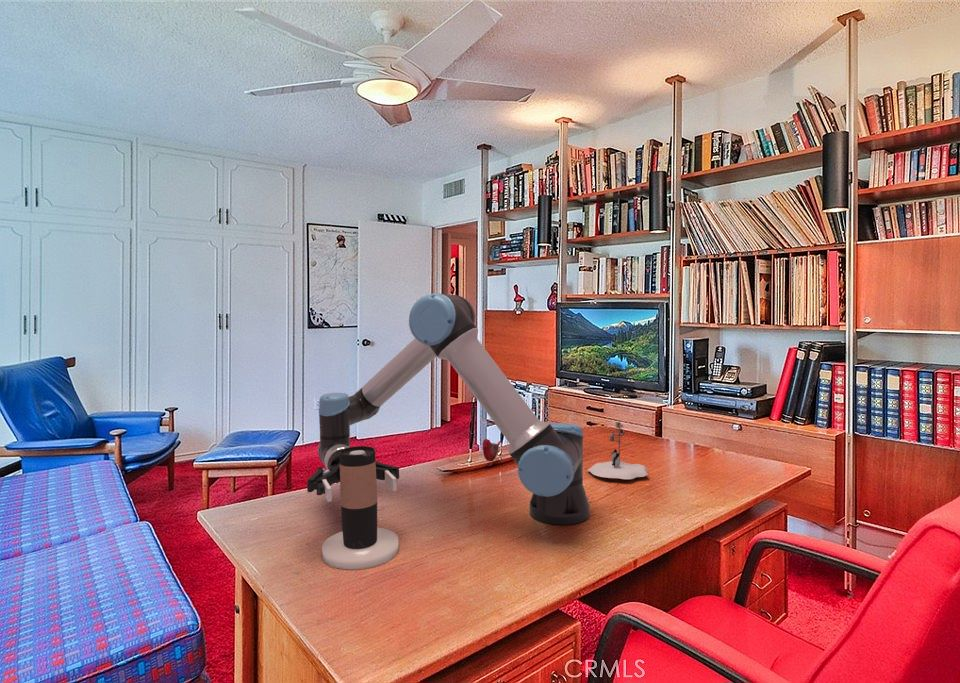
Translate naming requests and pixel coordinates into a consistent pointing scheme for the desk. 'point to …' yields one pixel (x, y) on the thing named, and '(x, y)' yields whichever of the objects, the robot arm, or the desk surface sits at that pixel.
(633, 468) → the figurine
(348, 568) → the white round disc
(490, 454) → the decorative bird figurine
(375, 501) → the travel mug
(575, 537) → the desk surface
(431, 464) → the desk surface
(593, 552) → the desk surface
